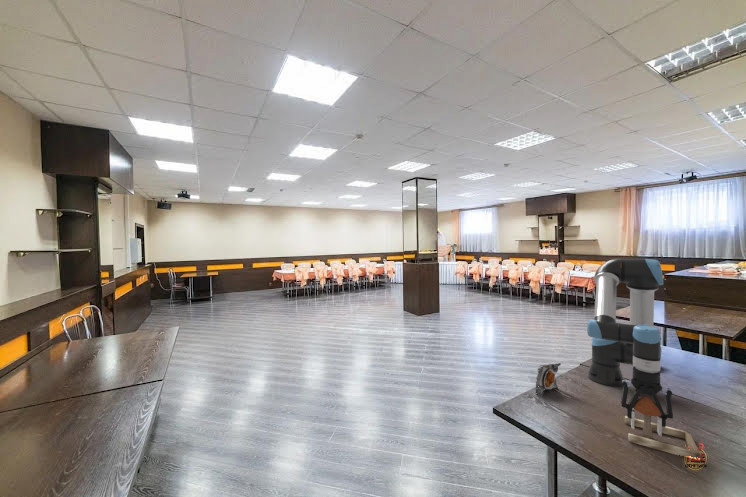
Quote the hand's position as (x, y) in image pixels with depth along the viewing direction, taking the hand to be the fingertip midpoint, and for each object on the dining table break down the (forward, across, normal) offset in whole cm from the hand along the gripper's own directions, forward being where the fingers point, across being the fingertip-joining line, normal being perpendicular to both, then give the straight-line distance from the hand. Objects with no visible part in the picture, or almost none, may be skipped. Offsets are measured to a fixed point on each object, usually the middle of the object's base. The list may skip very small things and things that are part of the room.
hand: (645, 430), depth 111 cm
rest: (+3, +2, 0) cm, 3 cm away
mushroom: (+2, 0, 0) cm, 2 cm away
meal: (+3, -33, +19) cm, 38 cm away
